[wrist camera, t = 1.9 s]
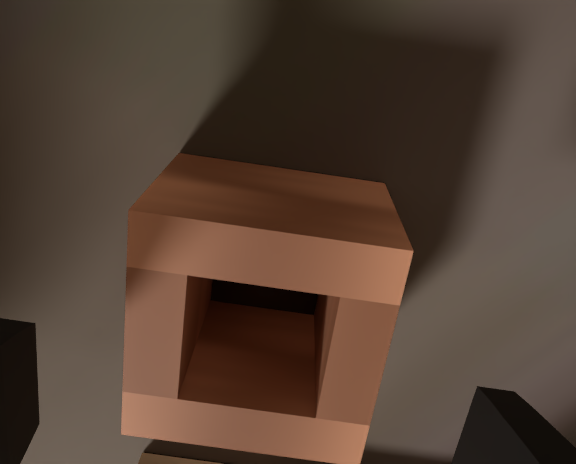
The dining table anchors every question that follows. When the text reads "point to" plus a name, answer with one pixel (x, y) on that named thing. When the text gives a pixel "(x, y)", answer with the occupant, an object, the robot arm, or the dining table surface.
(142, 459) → the lacing board
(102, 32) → the dining table surface
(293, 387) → the bead
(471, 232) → the dining table surface
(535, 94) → the dining table surface
